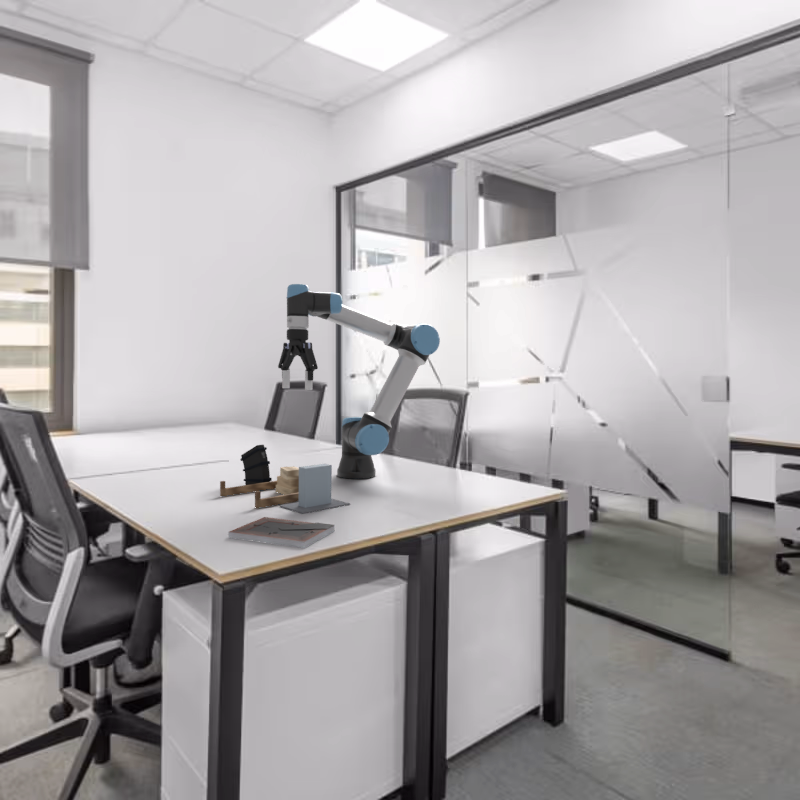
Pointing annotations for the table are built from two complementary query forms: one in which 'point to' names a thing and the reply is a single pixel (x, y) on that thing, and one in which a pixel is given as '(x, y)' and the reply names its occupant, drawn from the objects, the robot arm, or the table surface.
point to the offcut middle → (288, 483)
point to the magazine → (256, 465)
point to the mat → (314, 508)
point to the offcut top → (289, 472)
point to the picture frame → (282, 532)
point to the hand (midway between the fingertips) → (297, 389)
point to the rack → (260, 486)
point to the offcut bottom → (286, 490)
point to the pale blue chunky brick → (315, 485)
